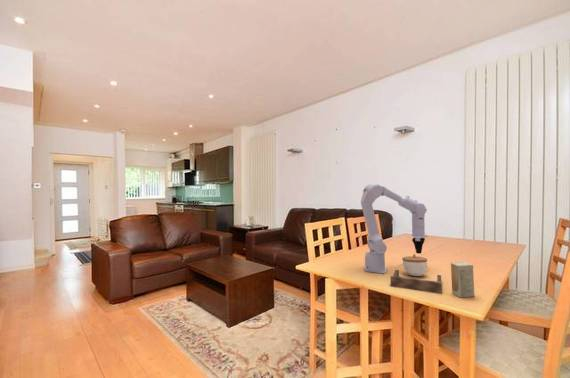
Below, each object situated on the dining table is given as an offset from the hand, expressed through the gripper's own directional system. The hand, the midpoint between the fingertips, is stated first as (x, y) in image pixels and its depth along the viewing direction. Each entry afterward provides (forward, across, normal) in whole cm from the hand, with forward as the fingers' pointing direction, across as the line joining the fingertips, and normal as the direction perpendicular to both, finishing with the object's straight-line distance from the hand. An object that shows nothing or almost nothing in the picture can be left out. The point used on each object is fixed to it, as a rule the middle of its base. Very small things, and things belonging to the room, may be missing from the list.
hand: (418, 252), depth 136 cm
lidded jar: (+8, -12, +1) cm, 14 cm away
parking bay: (+8, -23, 0) cm, 24 cm away
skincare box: (+9, -29, -16) cm, 34 cm away
